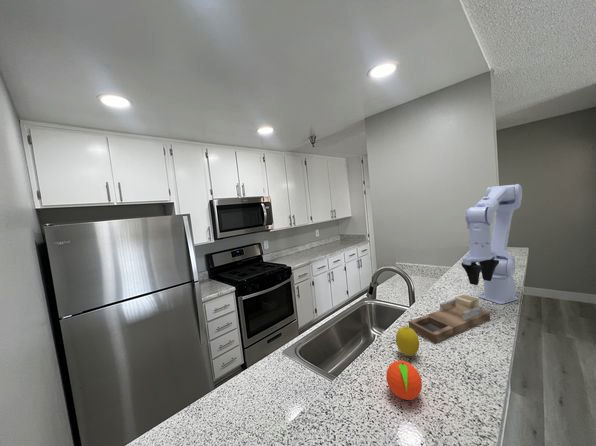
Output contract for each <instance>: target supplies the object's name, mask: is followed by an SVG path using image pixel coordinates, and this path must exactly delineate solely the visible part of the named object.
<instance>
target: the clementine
mask: <svg viewBox="0 0 596 446" xmlns="http://www.w3.org/2000/svg"><path fill="white" fill-rule="evenodd" d="M385 376H386V377H385V378H386V382H387V386H388V388H389V389H390V391H391V392H392V393H393V394H394V395H395V396H396V397H397V398H399V399H402V400H404V401H411V400H414V399H416V398H418V397H419V395H420V393H421V392H422V389H423V382H422V377H421V375H420V373H419V371H418V369H416V368H415V367H414V365H412V364H411V363H409V362H408V361H404V360H396V361H394V362H392V363H391V364H389V366H388V367H387V370H386V375H385Z"/></svg>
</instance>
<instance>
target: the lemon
mask: <svg viewBox="0 0 596 446" xmlns="http://www.w3.org/2000/svg"><path fill="white" fill-rule="evenodd" d="M395 335H396V336H395V343H396V346H397V348H398V351H400V352H401V353H402V354H403V355H405V356H407V357H411V356H414V355H416V354H417V352H419V349H420V339H419V337H418V336H419V335H418V334H417V333H416V332H415V331H414V330H413V329H411V328H409V326H402V327H400V328H398V330H397V332H396V334H395Z"/></svg>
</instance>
